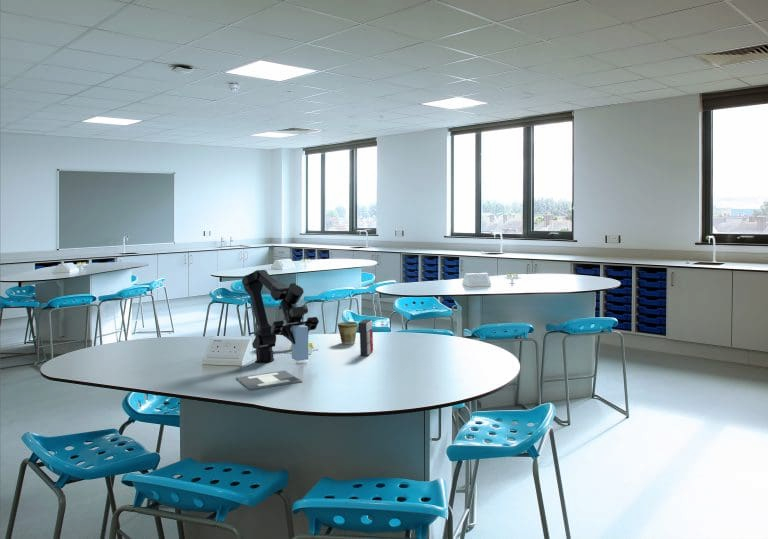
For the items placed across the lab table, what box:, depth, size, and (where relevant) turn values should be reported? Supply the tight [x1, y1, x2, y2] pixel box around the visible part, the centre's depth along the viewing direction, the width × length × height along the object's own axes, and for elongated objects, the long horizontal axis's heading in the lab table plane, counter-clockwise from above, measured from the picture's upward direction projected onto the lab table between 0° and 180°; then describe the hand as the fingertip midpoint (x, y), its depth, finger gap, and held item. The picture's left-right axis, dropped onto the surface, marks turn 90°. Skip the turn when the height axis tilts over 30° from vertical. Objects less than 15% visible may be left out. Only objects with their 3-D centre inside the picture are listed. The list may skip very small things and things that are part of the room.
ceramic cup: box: [337, 321, 359, 345], centre depth 300 cm, size 13×10×10 cm
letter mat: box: [236, 370, 303, 391], centre depth 231 cm, size 20×20×1 cm
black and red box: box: [357, 318, 374, 357], centre depth 273 cm, size 11×4×15 cm, turn 168°
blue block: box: [291, 325, 309, 362], centre depth 236 cm, size 5×5×13 cm
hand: (301, 342), depth 235 cm, fingers closed on blue block, 5 cm apart
